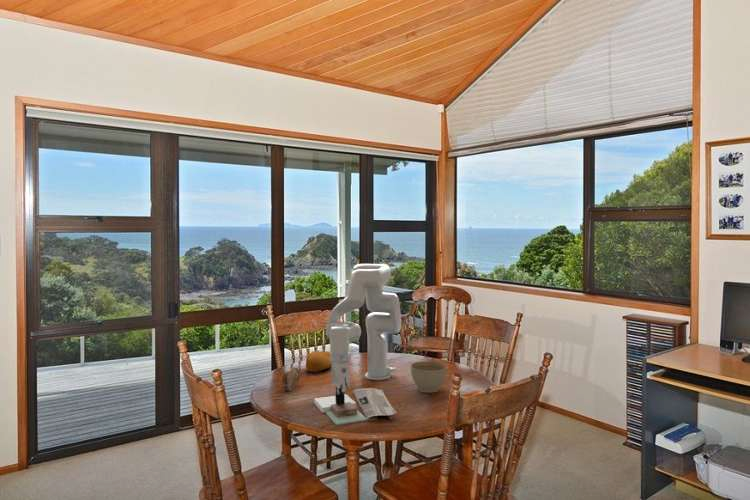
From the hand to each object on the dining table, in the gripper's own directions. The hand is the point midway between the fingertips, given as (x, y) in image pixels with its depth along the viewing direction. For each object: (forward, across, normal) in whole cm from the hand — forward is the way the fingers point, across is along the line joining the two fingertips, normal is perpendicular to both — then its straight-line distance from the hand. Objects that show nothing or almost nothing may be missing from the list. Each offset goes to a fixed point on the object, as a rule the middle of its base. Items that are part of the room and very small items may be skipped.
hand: (340, 403), depth 196 cm
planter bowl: (+3, +10, -45) cm, 46 cm away
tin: (+3, +38, +11) cm, 40 cm away
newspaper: (+4, +1, -15) cm, 16 cm away
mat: (+3, -6, 0) cm, 7 cm away
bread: (+3, +64, -11) cm, 65 cm away
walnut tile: (+2, -4, 0) cm, 4 cm away
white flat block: (+3, +7, 0) cm, 8 cm away
